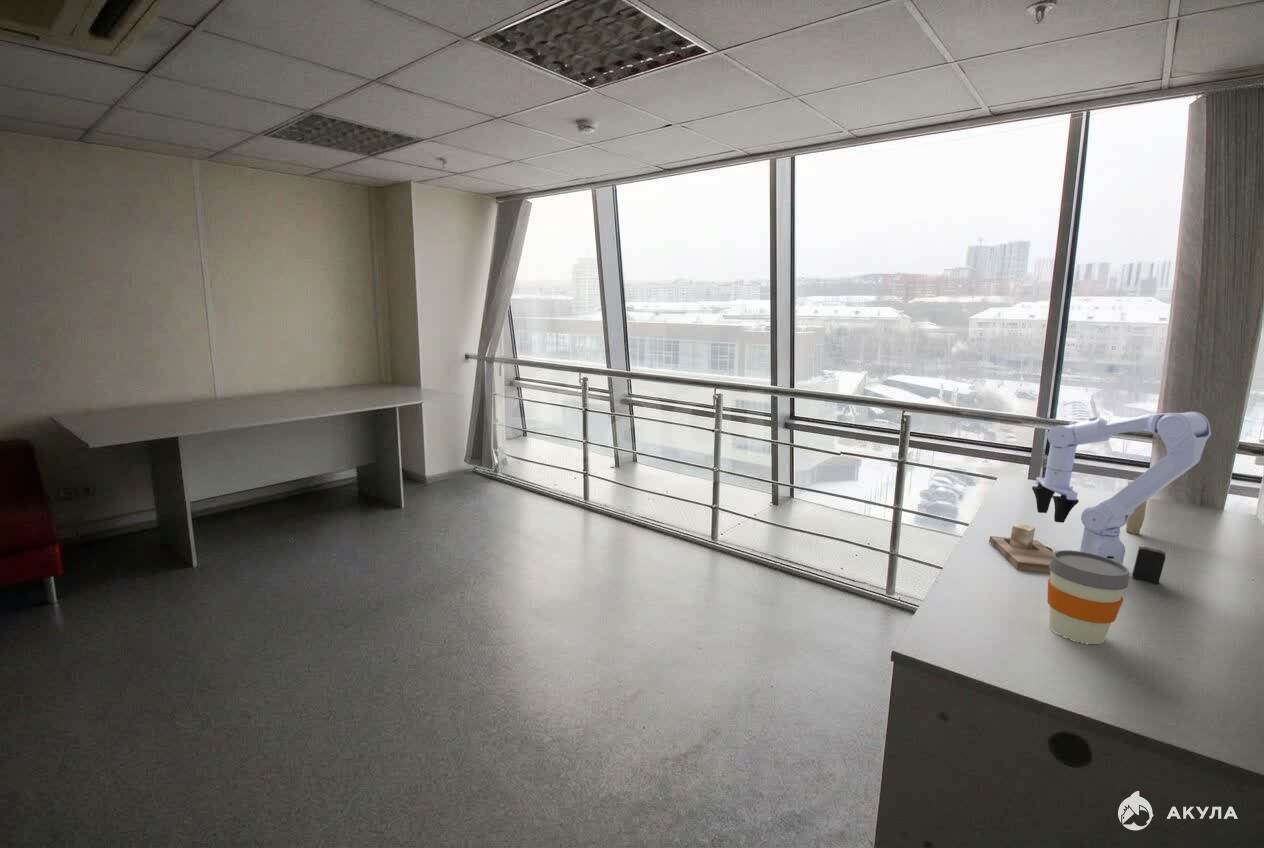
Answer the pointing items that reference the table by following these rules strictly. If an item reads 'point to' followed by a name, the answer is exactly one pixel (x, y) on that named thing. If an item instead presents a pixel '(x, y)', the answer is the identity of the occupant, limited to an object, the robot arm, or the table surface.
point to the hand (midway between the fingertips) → (1050, 517)
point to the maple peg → (1022, 536)
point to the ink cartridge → (1148, 565)
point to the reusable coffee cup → (1084, 594)
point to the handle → (1136, 519)
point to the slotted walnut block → (1024, 555)
